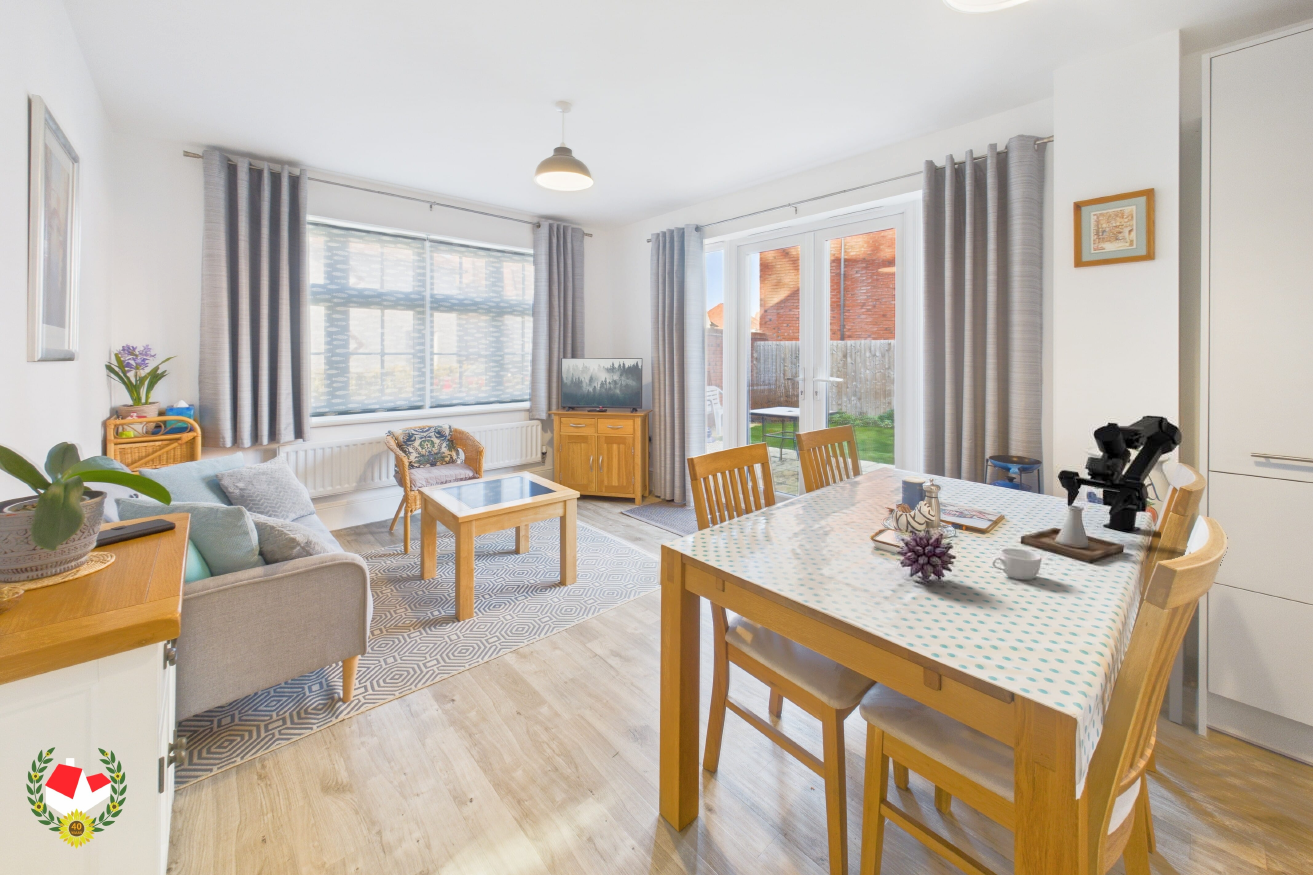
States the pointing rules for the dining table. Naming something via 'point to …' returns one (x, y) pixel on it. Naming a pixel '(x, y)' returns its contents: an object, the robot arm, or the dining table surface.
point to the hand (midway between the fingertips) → (1088, 510)
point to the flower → (926, 554)
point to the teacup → (1019, 563)
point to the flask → (1073, 530)
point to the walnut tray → (1089, 555)
